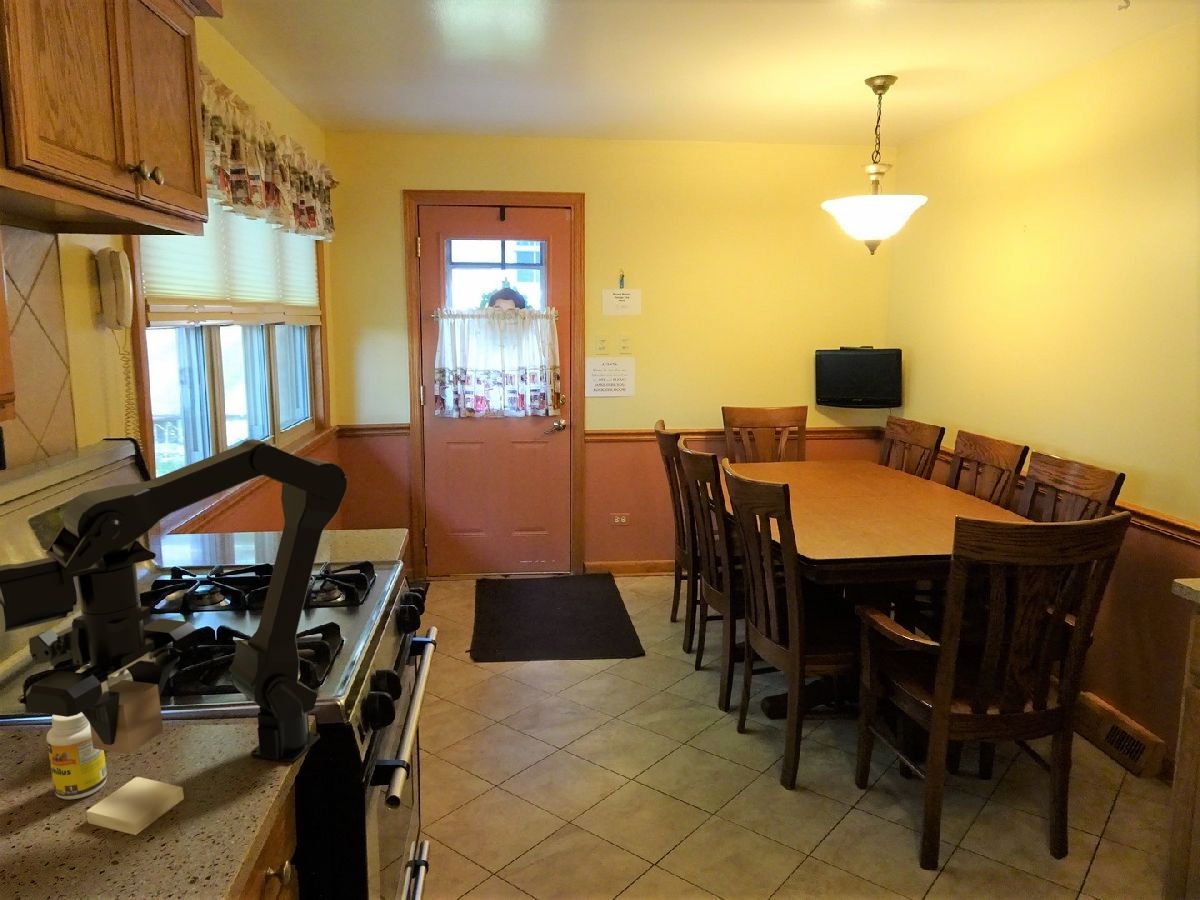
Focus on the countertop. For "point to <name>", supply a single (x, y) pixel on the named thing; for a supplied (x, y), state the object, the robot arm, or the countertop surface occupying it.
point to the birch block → (135, 805)
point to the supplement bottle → (74, 758)
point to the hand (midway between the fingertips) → (127, 731)
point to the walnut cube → (133, 717)
